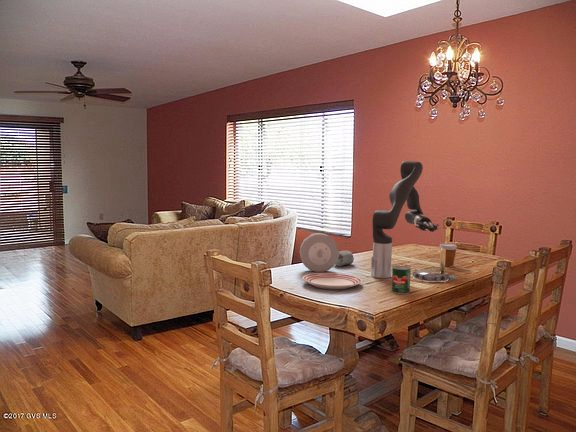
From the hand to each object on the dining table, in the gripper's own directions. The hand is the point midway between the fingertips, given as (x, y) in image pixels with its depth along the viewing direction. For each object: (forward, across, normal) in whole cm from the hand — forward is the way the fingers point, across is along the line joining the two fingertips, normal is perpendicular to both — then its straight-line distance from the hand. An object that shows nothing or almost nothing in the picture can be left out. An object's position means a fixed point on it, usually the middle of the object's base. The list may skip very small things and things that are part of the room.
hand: (432, 229), depth 239 cm
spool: (-16, -41, +29) cm, 53 cm away
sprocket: (+15, -2, +22) cm, 26 cm away
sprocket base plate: (+15, -2, +22) cm, 26 cm away
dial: (0, -56, +28) cm, 63 cm away
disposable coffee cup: (-17, +18, +24) cm, 35 cm away
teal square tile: (+14, +9, +21) cm, 27 cm away
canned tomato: (+40, -24, +21) cm, 51 cm away
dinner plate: (+28, -52, +24) cm, 64 cm away
